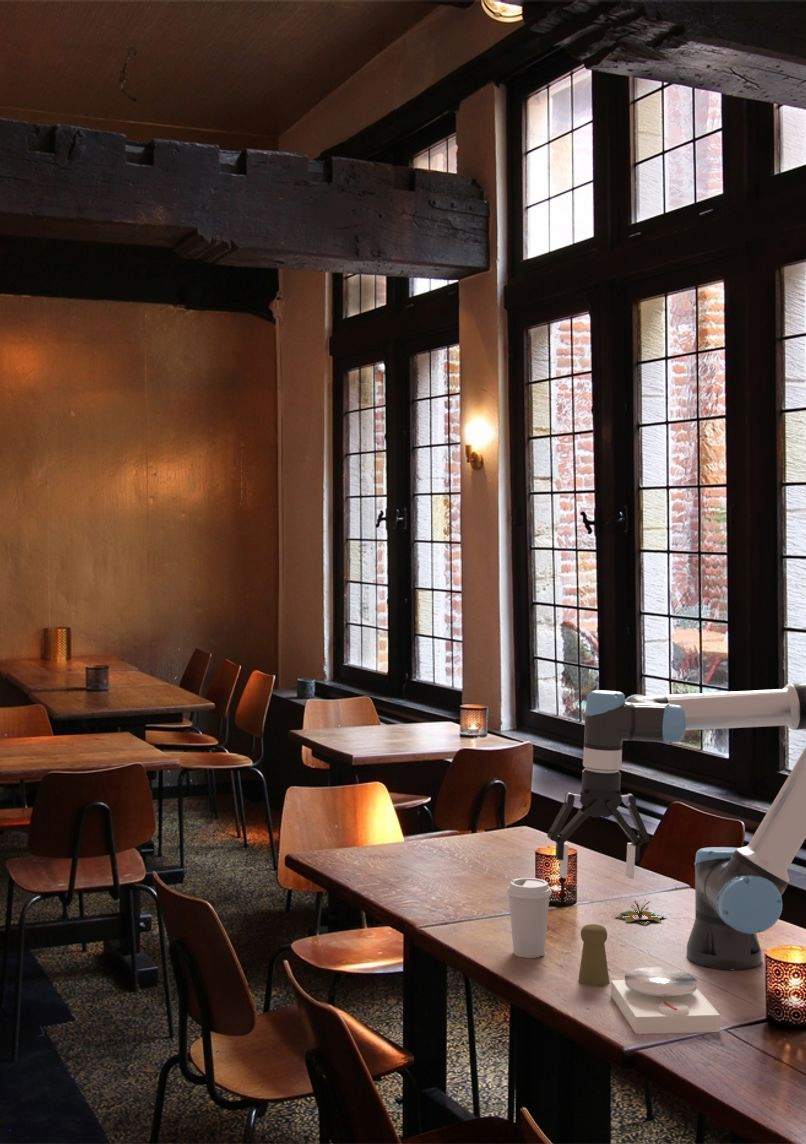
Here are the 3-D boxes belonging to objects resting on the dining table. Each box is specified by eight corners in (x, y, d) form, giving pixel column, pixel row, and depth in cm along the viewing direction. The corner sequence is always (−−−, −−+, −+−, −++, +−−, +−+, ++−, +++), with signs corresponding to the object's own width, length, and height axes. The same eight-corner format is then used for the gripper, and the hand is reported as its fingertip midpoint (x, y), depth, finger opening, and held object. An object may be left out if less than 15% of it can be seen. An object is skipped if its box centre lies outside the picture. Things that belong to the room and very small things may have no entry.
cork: (608, 987, 241) (608, 931, 241) (577, 985, 242) (577, 929, 242) (610, 977, 247) (610, 922, 247) (579, 975, 248) (579, 920, 248)
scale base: (688, 994, 237) (688, 973, 237) (719, 1032, 218) (719, 1009, 218) (611, 996, 236) (611, 975, 236) (635, 1033, 217) (635, 1011, 217)
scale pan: (685, 972, 236) (685, 966, 236) (705, 996, 223) (705, 990, 223) (617, 974, 235) (617, 967, 235) (634, 998, 222) (634, 991, 222)
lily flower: (603, 920, 288) (603, 900, 288) (633, 910, 296) (633, 891, 296) (647, 931, 279) (647, 911, 279) (677, 920, 288) (677, 900, 288)
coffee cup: (522, 943, 269) (522, 874, 269) (560, 952, 263) (560, 881, 263) (497, 954, 261) (497, 883, 261) (535, 963, 255) (535, 891, 255)
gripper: (656, 767, 250) (650, 872, 250) (535, 764, 246) (530, 871, 246) (669, 774, 242) (663, 882, 242) (545, 771, 239) (539, 881, 239)
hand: (596, 877), depth 244 cm, fingers open, 13 cm apart
